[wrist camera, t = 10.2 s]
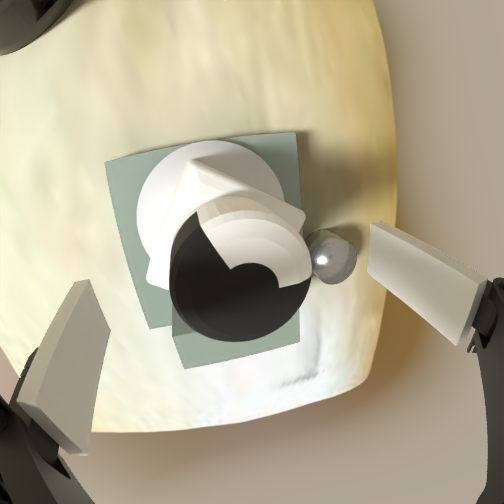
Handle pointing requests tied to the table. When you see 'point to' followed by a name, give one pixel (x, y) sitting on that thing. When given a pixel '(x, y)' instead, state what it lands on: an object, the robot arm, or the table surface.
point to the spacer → (331, 256)
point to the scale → (153, 211)
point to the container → (230, 256)
